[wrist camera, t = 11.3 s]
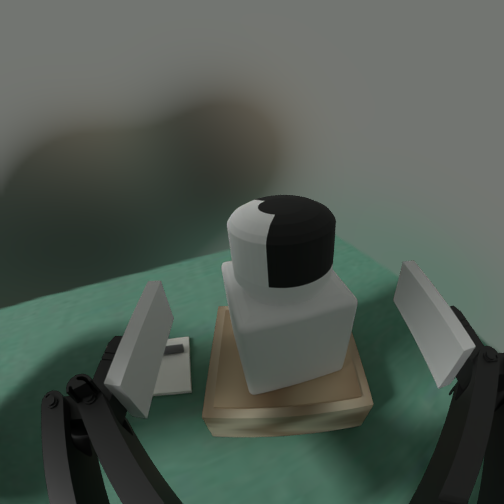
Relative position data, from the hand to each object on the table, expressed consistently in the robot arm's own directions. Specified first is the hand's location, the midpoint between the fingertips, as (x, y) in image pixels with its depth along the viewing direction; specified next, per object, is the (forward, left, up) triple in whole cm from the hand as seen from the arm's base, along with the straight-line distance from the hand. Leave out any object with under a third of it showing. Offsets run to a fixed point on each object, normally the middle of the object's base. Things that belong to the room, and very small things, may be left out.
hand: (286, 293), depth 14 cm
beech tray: (0, +3, -13) cm, 13 cm away
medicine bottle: (0, +3, -8) cm, 9 cm away
